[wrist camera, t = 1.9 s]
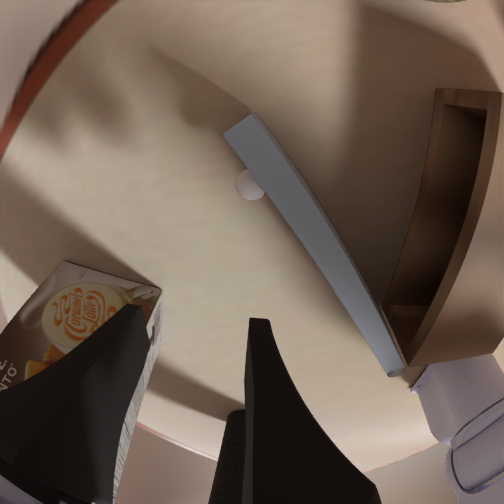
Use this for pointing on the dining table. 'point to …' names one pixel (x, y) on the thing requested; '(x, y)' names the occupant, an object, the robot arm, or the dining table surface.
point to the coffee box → (77, 330)
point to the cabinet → (455, 237)
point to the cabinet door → (310, 230)
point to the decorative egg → (446, 1)
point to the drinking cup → (231, 462)
